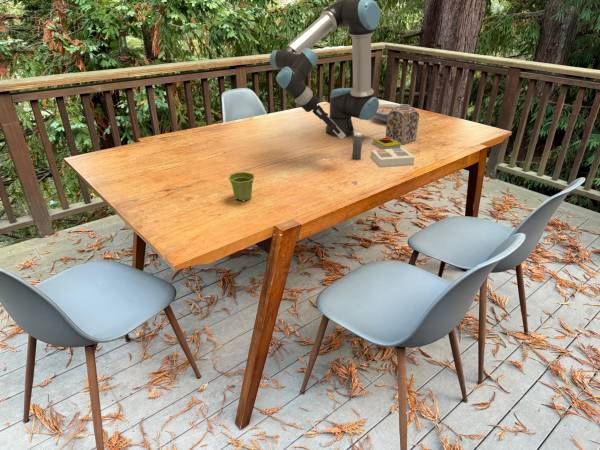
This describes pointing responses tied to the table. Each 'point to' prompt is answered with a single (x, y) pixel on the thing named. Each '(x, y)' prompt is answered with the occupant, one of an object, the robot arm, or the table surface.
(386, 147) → the emergency button
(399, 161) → the socket block
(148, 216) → the table surface
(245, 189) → the plant pot
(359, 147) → the capped grey bottle
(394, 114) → the decorative jar
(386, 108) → the ramen bowl
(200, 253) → the table surface
